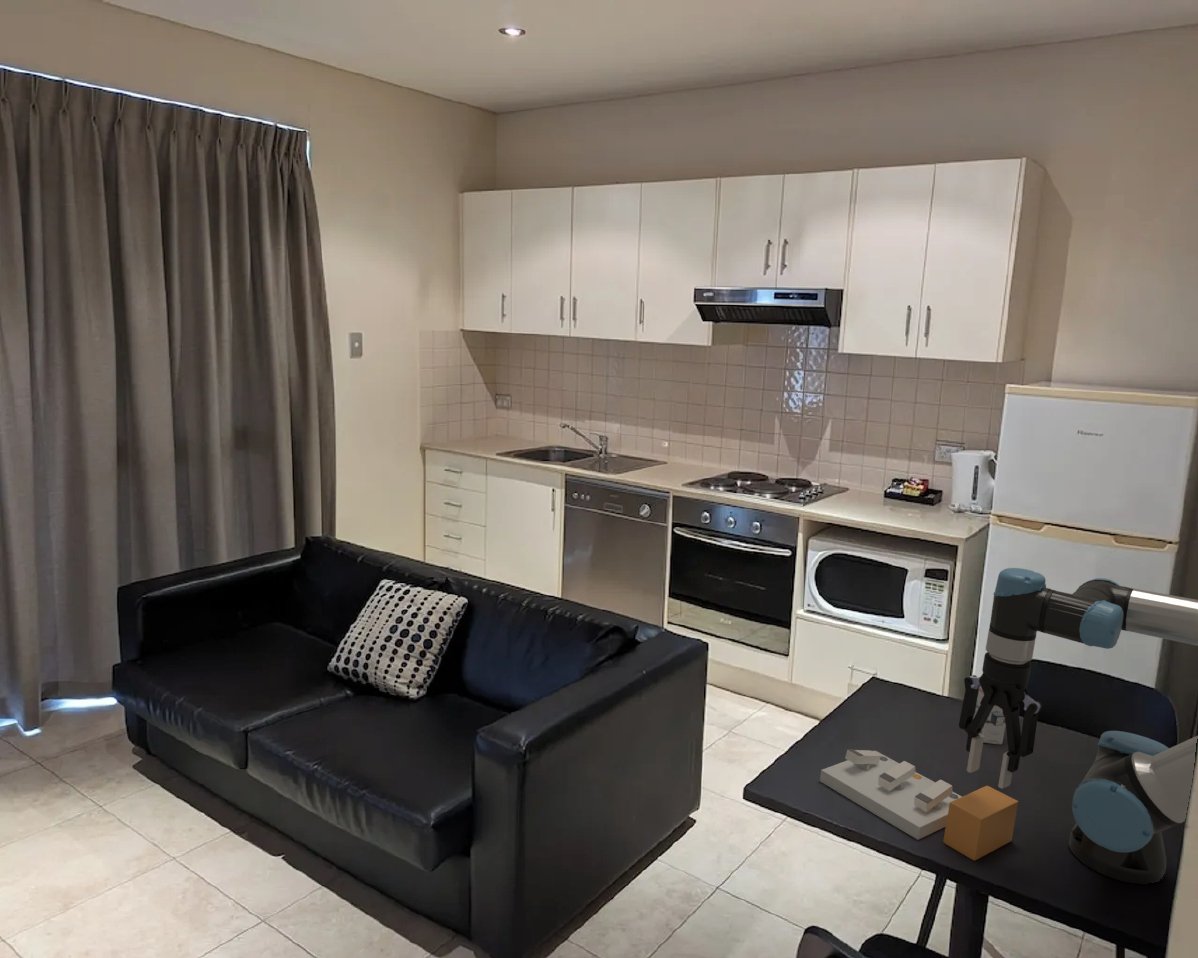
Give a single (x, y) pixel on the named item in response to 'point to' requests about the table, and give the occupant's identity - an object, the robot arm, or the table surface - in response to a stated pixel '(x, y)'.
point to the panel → (888, 795)
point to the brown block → (980, 822)
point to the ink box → (992, 723)
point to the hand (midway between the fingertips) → (988, 777)
